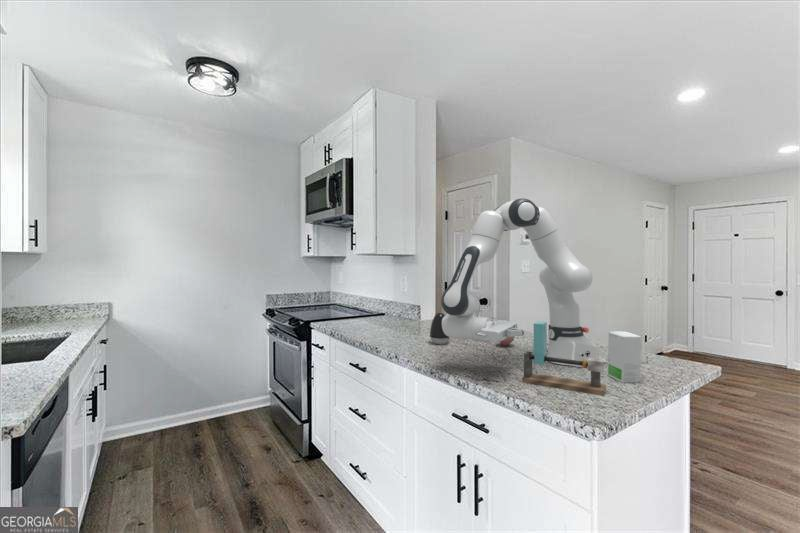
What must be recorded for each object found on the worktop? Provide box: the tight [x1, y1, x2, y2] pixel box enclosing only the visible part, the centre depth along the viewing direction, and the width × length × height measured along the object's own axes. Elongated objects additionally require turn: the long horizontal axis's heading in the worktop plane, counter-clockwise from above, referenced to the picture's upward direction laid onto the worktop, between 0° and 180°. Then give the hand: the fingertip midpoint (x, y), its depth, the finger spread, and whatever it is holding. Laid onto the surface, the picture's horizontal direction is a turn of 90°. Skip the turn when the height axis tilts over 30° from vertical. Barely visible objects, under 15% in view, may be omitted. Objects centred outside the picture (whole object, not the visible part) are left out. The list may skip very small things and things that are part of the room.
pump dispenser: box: [429, 312, 451, 345], centre depth 187 cm, size 10×10×15 cm
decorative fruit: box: [499, 336, 516, 347], centre depth 180 cm, size 9×8×10 cm
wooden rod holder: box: [521, 351, 607, 396], centre depth 123 cm, size 24×7×10 cm, turn 57°
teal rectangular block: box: [533, 320, 548, 366], centre depth 127 cm, size 3×5×14 cm, turn 147°
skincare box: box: [607, 330, 642, 384], centre depth 129 cm, size 8×7×16 cm
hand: (522, 333), depth 130 cm, fingers closed
